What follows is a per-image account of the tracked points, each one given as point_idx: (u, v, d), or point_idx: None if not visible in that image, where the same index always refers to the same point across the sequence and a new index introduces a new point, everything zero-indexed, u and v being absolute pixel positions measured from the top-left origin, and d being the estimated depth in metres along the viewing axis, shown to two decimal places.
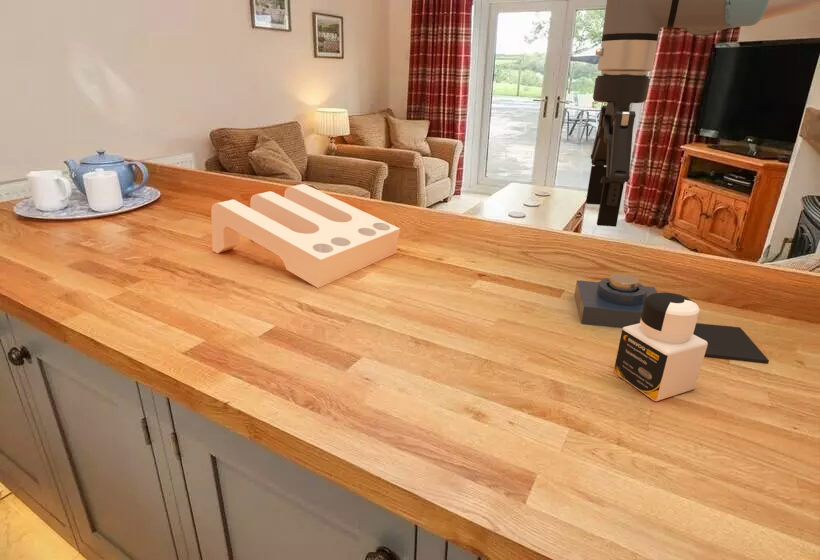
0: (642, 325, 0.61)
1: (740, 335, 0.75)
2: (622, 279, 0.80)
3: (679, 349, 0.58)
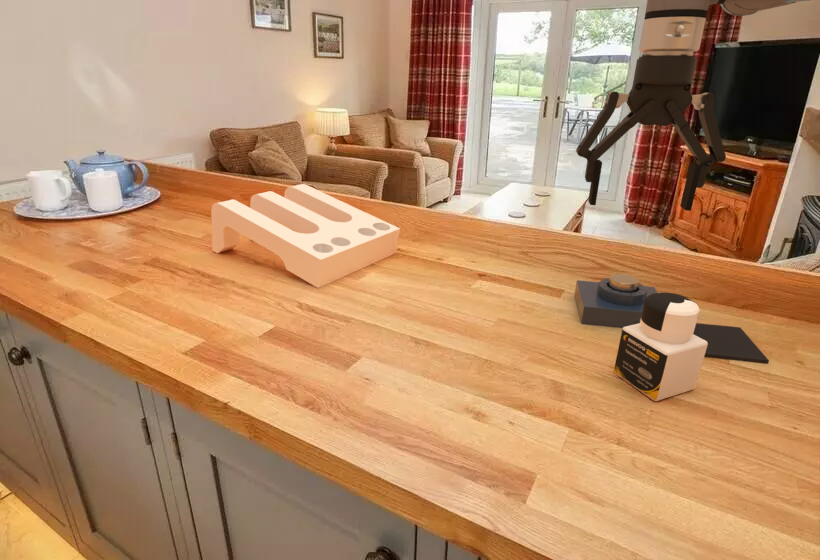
0: (642, 325, 0.61)
1: (740, 335, 0.75)
2: (622, 279, 0.80)
3: (679, 349, 0.58)
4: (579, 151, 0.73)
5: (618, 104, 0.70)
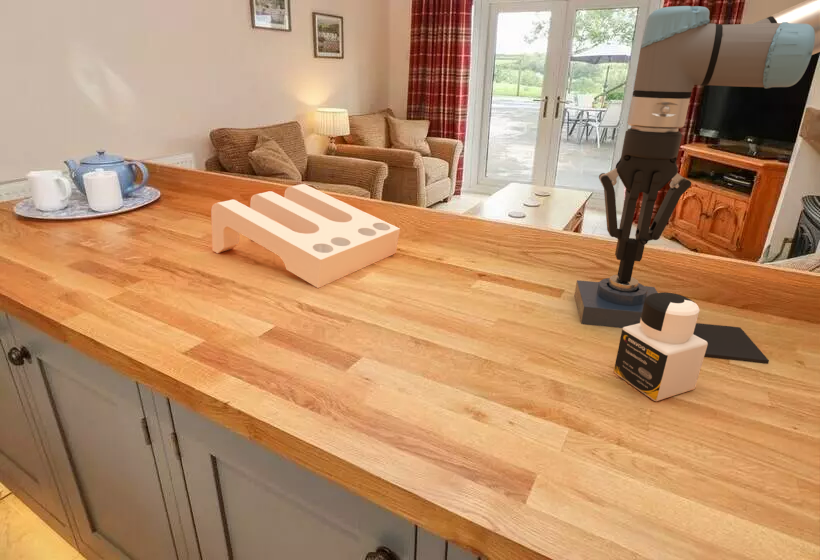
0: (642, 325, 0.61)
1: (740, 335, 0.75)
2: None
3: (679, 349, 0.58)
4: (611, 234, 0.77)
5: (613, 183, 0.74)
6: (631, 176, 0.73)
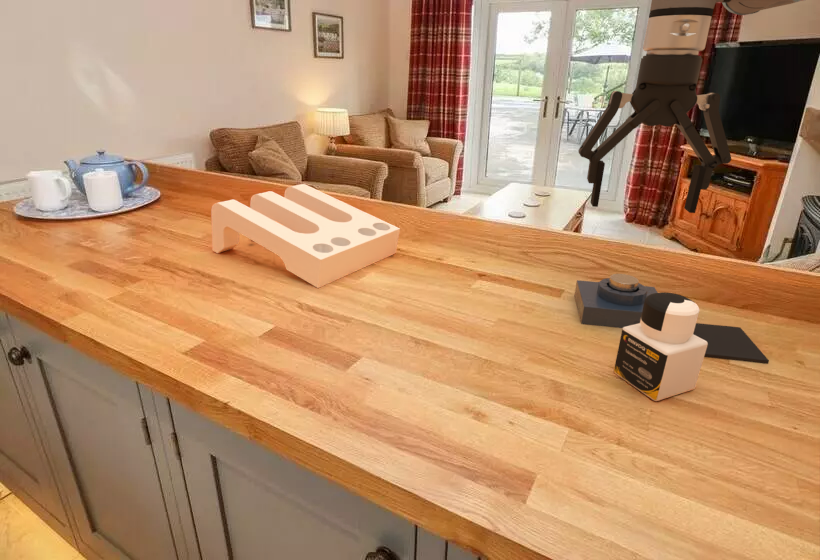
0: (642, 325, 0.61)
1: (740, 335, 0.75)
2: (622, 279, 0.80)
3: (679, 349, 0.58)
4: (581, 152, 0.72)
5: (621, 104, 0.69)
6: None
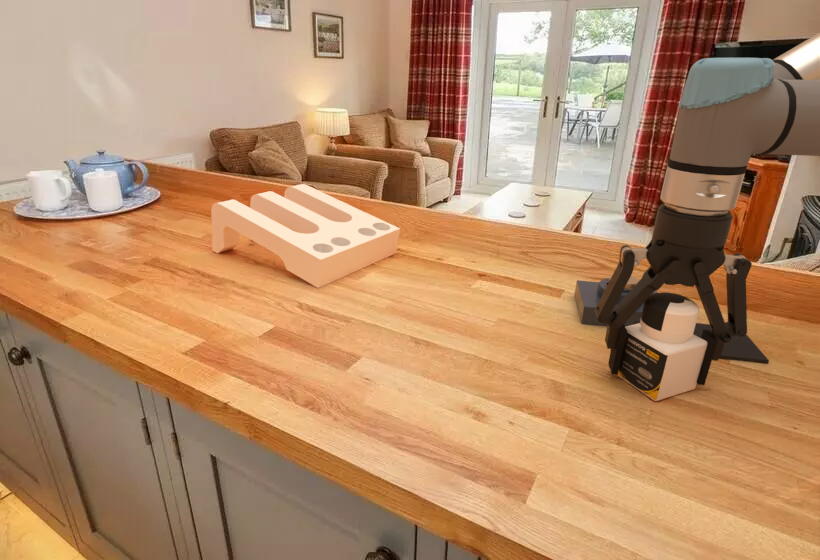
0: (642, 325, 0.61)
1: None
2: None
3: (679, 349, 0.58)
4: (599, 317, 0.61)
5: (636, 264, 0.58)
6: (665, 265, 0.58)
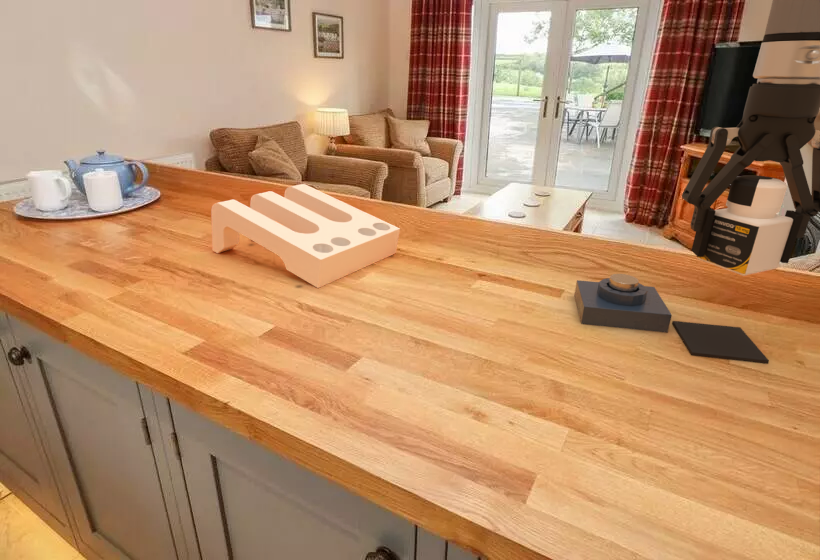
0: (729, 205, 0.65)
1: (740, 335, 0.75)
2: (622, 279, 0.80)
3: (769, 222, 0.62)
4: (689, 198, 0.65)
5: (728, 141, 0.61)
6: (757, 141, 0.61)
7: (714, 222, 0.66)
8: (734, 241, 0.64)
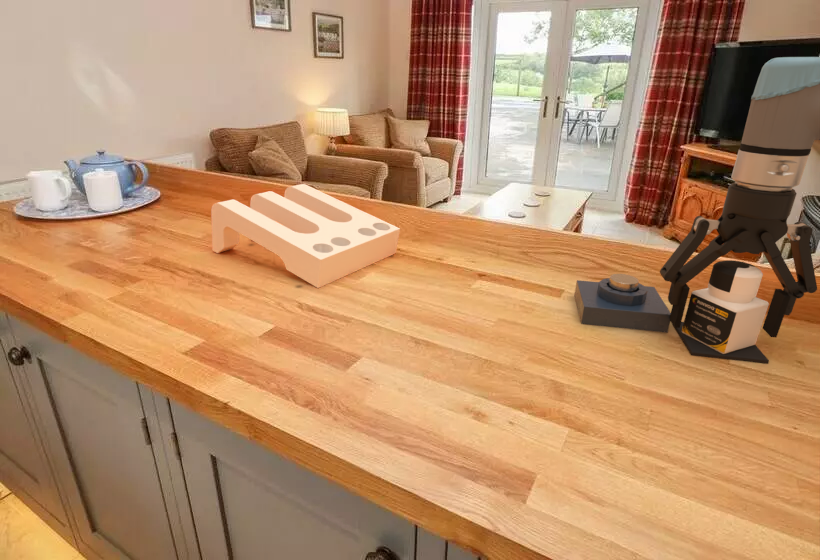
0: (711, 288, 0.71)
1: None
2: (622, 279, 0.80)
3: (746, 307, 0.68)
4: (665, 276, 0.71)
5: (708, 232, 0.67)
6: (735, 235, 0.67)
7: (697, 302, 0.72)
8: (714, 322, 0.70)
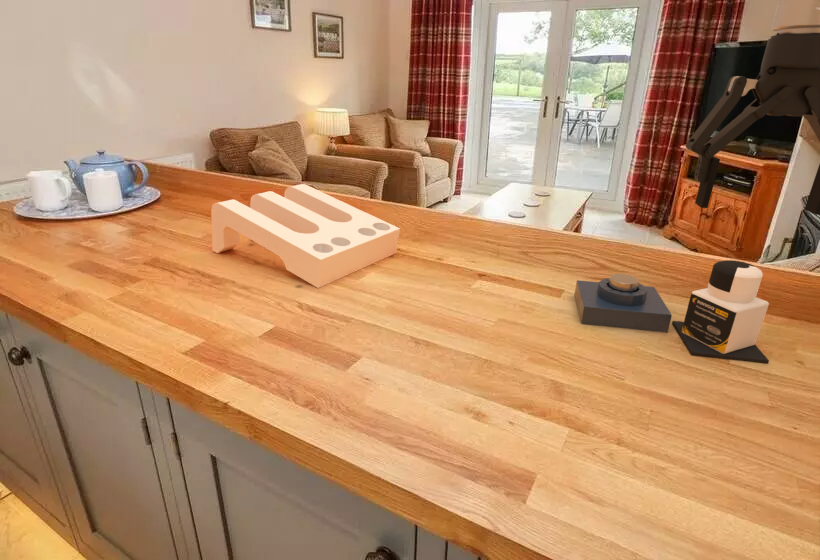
0: (711, 288, 0.71)
1: None
2: (622, 279, 0.80)
3: (746, 307, 0.68)
4: (693, 146, 0.64)
5: (745, 91, 0.60)
6: None
7: (697, 302, 0.72)
8: (714, 322, 0.70)
